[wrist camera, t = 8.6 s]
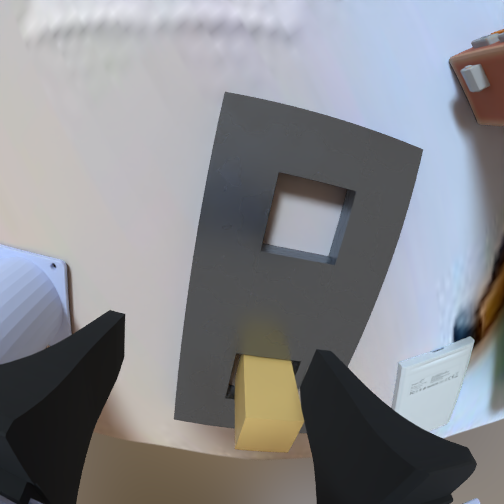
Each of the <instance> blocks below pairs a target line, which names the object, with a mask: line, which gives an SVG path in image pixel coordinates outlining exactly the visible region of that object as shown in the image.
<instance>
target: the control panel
mask: <svg viewBox="0 0 504 504" xmlns="http://www.w3.org/2000/svg"><path fill="white" fill-rule="evenodd" d="M471 44H472V46H473V47H472V48H470V49H468V50H466V51H463V52H461V53H459V54H457V55H455V56H452V57H451V58H450V59H449V62H450V64H451V66H452V68H453V70H454V72H455V74H456V76H457V78H458V80H459V82H460V84H461V86H462V88H463V90H464V92H465V94H466V97H467V99H468V101H469V103H470V106H471V108H472V110H473V113H474V115H475V118H476V120H477V123H478V124H479V125H493V126H504V29H502V30H499V31H496V32H494V33H491V35H488V36H484V37H481V38H479V39H477V40H474V41H472V43H471Z"/></svg>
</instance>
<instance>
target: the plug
mask: <svg viewBox="0 0 504 504" xmlns="http://www.w3.org/2000/svg"><path fill="white" fill-rule="evenodd" d="M303 423H304V418H303V414H302V409H301V403H300V399H299V394H298V389H297V385H296V380H295V376H294V371H293V367H292V362H291V360H284V359H276V358H268V357H260V356H252V355H245V354H241V355H240V359H239V363H238V367H237V371H236V375H235V449H238V450H250V451H264V452H285V453H288V451H289V449H290V448H291V446H292V444H293V442H294V440H295V438H296V437H297V435H298V433H299V431H300V429H301V427H302V425H303Z"/></svg>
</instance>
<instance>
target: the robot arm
mask: <svg viewBox="0 0 504 504" xmlns="http://www.w3.org/2000/svg"><path fill="white" fill-rule="evenodd" d="M53 263H54V264H55V265H56V268H55V267H54V266H53ZM124 338H125V314H123V313H119V312H115V311H111V310H110V311H108V312H106V313H105V314H103V315H102V316H100V317H99V318H97V319H96V320H94V321H93V322H91V323H90V324H88V325H86V326H85V327H83V328H82V329H80V330H79V331H77V332H75V333H74V334H72V333H71V323H70V312H69V299H68V282H67V265H66V263H65V262H64V261H63V260H60V259H56V258H52V257H48V256H44V255H40V254H36V253H32V252H28V251H24V250H20V249H16V248H12V247H9V246H5V245H1V244H0V504H76V501H77V495H78V489H79V484H80V479H81V475H82V470H83V466H84V462H85V458H86V454H87V450H88V447H89V443H90V440H91V437H92V433H93V430H94V428H95V425H96V423H97V420H98V418H99V416H100V414H101V412H102V409H103V407H104V405H105V403H106V401H107V399H108V397H109V395H110V392H111V390H112V388H113V386H114V384H115V382H116V380H117V377H118V374H119V371H120V368H121V365H122V362H123V359H124ZM47 345H49V346H50V347H48V348H46V347H47ZM45 348H46V349H45ZM300 398H301V409H302V414H303V418H304V422H305V427H306V431H307V435H308V439H309V444H310V448H311V452H312V457H313V462H314V471H315V481H316V496H317V504H450V503H451V502H453V498H452V495H451V493H452V492H453V491H454V490H456V489H457V488H458V487H459V486H460V485H461V484H462V483H463V482H464V481H466V480H467V479H468V478H469V477H470V475H471V474H472V473H473V472H474V470H475V468H476V465H477V463H476V461H475V459H474V458H473V456H472V454H471V452H470V451H469V449H468V448H467V447H464V446H462V445H459V444H456V443H453V442H450V441H447V440H445V439H443V438H440V437H438V436H436V435H434V434H432V433H430V432H428V431H426V430H424V429H422V428H420V427H419V426H417V425H415V424H414V423H412V422H410V421H409V420H407V419H406V418H404V417H403V416H401V415H400V414H398V413H397V412H396V411H394V410H393V409H392V408H390V407H389V406H388V405H387V404H385V403H384V402H383V401H382V400H381V399H379V398H378V397H377V396H376V395H375V394H374V393H373V392H372V391H371V390H370V389H368V388H367V387H366V386H365V385H364V384H363V383H362V382H361V381H360V380H359V379H358V378H357V377H356V376H355V375H354V374H353V373H352V372H351V370H350V369H349V368H348V367H347V366H346V365H345V364H344V363H343V362H342V361H341V360H340V359H339V358H338V357H337V356H336V355H335V354H334V353H333V352H332V351H328V350H319V349H316V351H315V354H314V356H313V358H312V361H311V363H310V365H309V368H308V370H307V372H306V374H305V377H304V379H303V381H302V383H301V385H300ZM463 504H480V501H479V499H478V498H475V499H473V500H470V501H468V502H465V503H463Z"/></svg>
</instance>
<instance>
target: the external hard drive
mask: <svg viewBox="0 0 504 504" xmlns="http://www.w3.org/2000/svg"><path fill="white" fill-rule="evenodd" d="M474 341H475V340H474V339H473V338H472V337H471V336H470V337H467V338H465V339H462V340H460V341H457V342H455V343H452V344H449V345H447V346H444V347H443V348H442V349H440V350H437V351H435V352H431V351H430V352H427V353H424V354H421V355H418V356H415V357H412V358H409V359H406V360H403V361H399V363H398V370H397V377H396V384H395V390H394V396H393V402H392V409H393V410H394V411H396V412H397V413H398V414H400V415H401V416H403V417H404V418H406V419H407V420H409V421H410V422H412V423H414V424H415V425H417V426H419V427H420V428H422V429H424V430H426V431H428V432H430V431H432V430H434V429H437V428H439V427H441V426H444V425H446V424H447V423H448V422H449V420H450V418H451V415H452V413H453V410H454V407H455V404H456V402H457V399H458V396H459V393H460V390H461V387H462V384H463V380H464V377H465V374H466V371H467V367H468V364H469V360H470V356H471V352H472V349H473V345H474Z"/></svg>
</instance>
